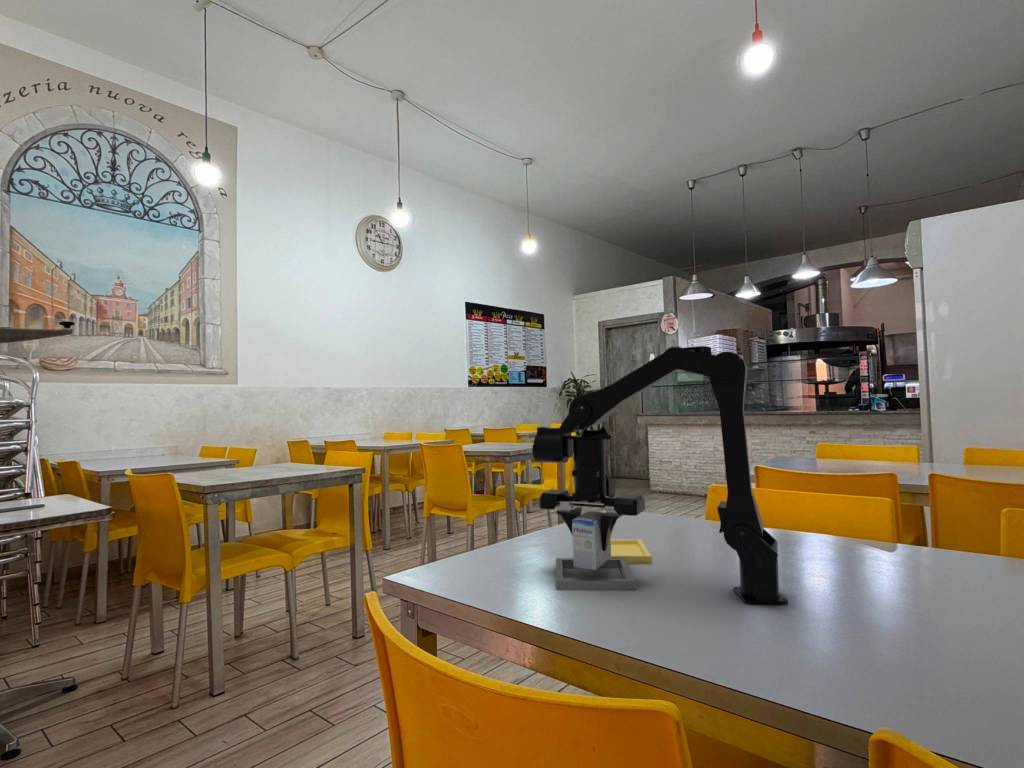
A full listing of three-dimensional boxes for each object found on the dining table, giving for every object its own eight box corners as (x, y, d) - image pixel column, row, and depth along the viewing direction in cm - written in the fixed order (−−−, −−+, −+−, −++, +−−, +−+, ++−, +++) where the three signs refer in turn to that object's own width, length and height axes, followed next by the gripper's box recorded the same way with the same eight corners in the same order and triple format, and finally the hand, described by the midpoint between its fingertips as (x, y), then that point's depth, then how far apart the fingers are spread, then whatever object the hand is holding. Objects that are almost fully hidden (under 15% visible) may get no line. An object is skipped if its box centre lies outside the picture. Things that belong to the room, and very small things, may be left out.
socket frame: (635, 589, 93) (635, 581, 93) (556, 589, 94) (556, 580, 94) (625, 565, 106) (625, 558, 106) (556, 565, 107) (556, 558, 107)
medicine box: (589, 556, 105) (587, 510, 105) (612, 558, 102) (609, 512, 103) (573, 567, 98) (571, 519, 98) (596, 570, 96) (594, 520, 96)
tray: (651, 563, 107) (651, 556, 107) (605, 563, 108) (605, 556, 108) (641, 546, 120) (641, 539, 120) (600, 546, 121) (599, 539, 121)
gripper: (651, 460, 103) (654, 543, 103) (560, 457, 112) (563, 534, 112) (634, 467, 93) (637, 559, 93) (536, 464, 102) (539, 547, 102)
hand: (592, 549), depth 100 cm, fingers closed on medicine box, 4 cm apart
